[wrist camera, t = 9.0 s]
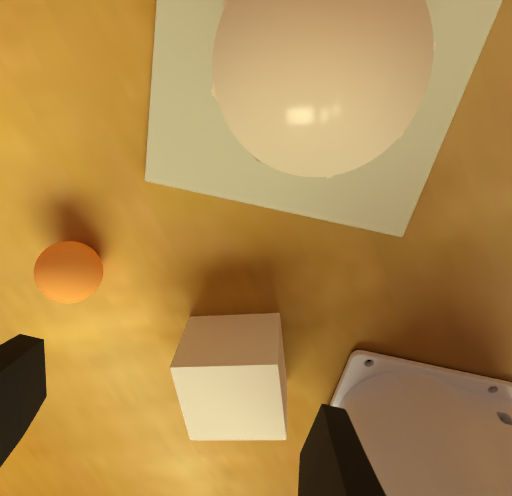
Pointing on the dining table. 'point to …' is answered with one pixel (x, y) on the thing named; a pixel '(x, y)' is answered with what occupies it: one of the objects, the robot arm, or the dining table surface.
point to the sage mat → (280, 183)
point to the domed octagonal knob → (321, 78)
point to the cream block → (232, 377)
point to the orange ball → (68, 272)
